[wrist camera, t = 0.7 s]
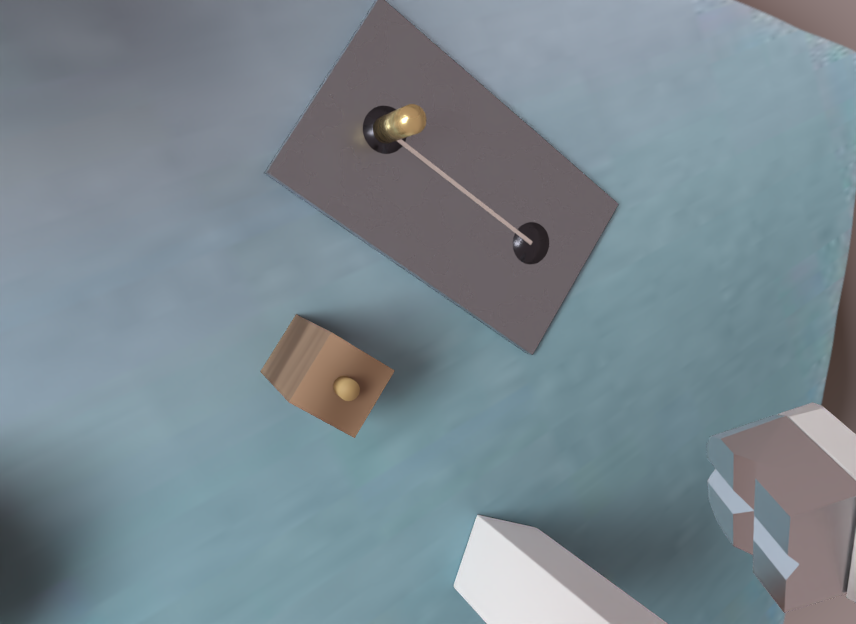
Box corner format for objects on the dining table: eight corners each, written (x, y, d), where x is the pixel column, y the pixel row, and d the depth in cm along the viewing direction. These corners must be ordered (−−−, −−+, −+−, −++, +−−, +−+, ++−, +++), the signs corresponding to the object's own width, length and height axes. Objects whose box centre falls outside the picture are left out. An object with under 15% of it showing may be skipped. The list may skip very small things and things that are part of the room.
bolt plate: (264, 173, 45) (282, 165, 39) (375, 1, 47) (408, -30, 41) (525, 352, 54) (570, 366, 49) (610, 204, 56) (662, 201, 50)
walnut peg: (260, 371, 46) (293, 407, 37) (295, 314, 47) (337, 335, 38) (316, 402, 48) (360, 443, 39) (349, 346, 49) (402, 374, 39)
